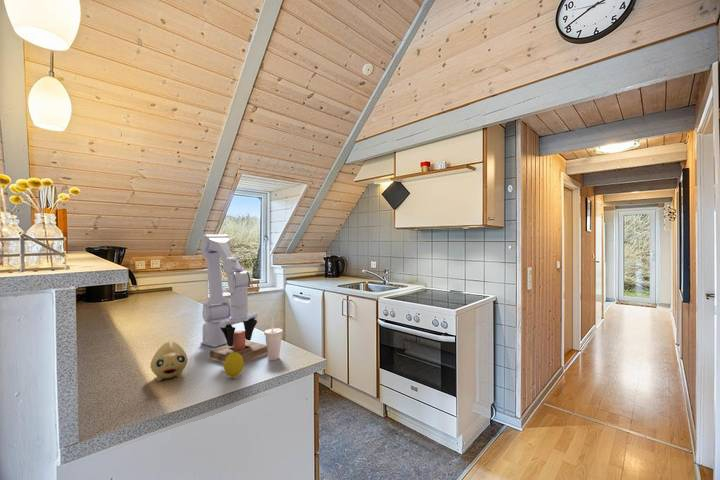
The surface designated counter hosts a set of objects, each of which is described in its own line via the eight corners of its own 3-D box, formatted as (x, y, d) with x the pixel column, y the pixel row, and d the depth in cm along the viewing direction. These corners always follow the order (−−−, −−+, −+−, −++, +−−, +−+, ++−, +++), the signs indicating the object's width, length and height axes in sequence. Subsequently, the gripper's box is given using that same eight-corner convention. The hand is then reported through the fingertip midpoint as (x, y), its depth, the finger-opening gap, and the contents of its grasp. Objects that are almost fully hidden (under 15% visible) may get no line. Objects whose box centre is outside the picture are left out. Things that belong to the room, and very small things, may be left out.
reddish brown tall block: (231, 355, 116) (230, 333, 116) (239, 351, 119) (239, 330, 119) (238, 357, 114) (238, 334, 114) (247, 353, 118) (247, 331, 118)
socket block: (209, 358, 114) (209, 350, 114) (242, 347, 126) (242, 339, 126) (235, 366, 107) (235, 357, 107) (268, 353, 119) (268, 345, 119)
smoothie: (260, 359, 113) (260, 319, 113) (273, 353, 119) (272, 315, 119) (274, 362, 110) (274, 321, 110) (286, 356, 116) (286, 317, 116)
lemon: (232, 383, 95) (231, 356, 94) (220, 379, 97) (220, 352, 97) (247, 376, 99) (247, 350, 99) (236, 372, 102) (235, 347, 102)
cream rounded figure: (150, 390, 91) (149, 352, 91) (150, 375, 101) (150, 341, 101) (189, 381, 96) (189, 345, 96) (186, 368, 106) (186, 335, 106)
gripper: (228, 310, 108) (229, 350, 108) (262, 302, 121) (262, 339, 121) (215, 308, 112) (216, 347, 112) (249, 300, 124) (250, 336, 124)
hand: (239, 342), depth 117 cm, fingers open, 7 cm apart
